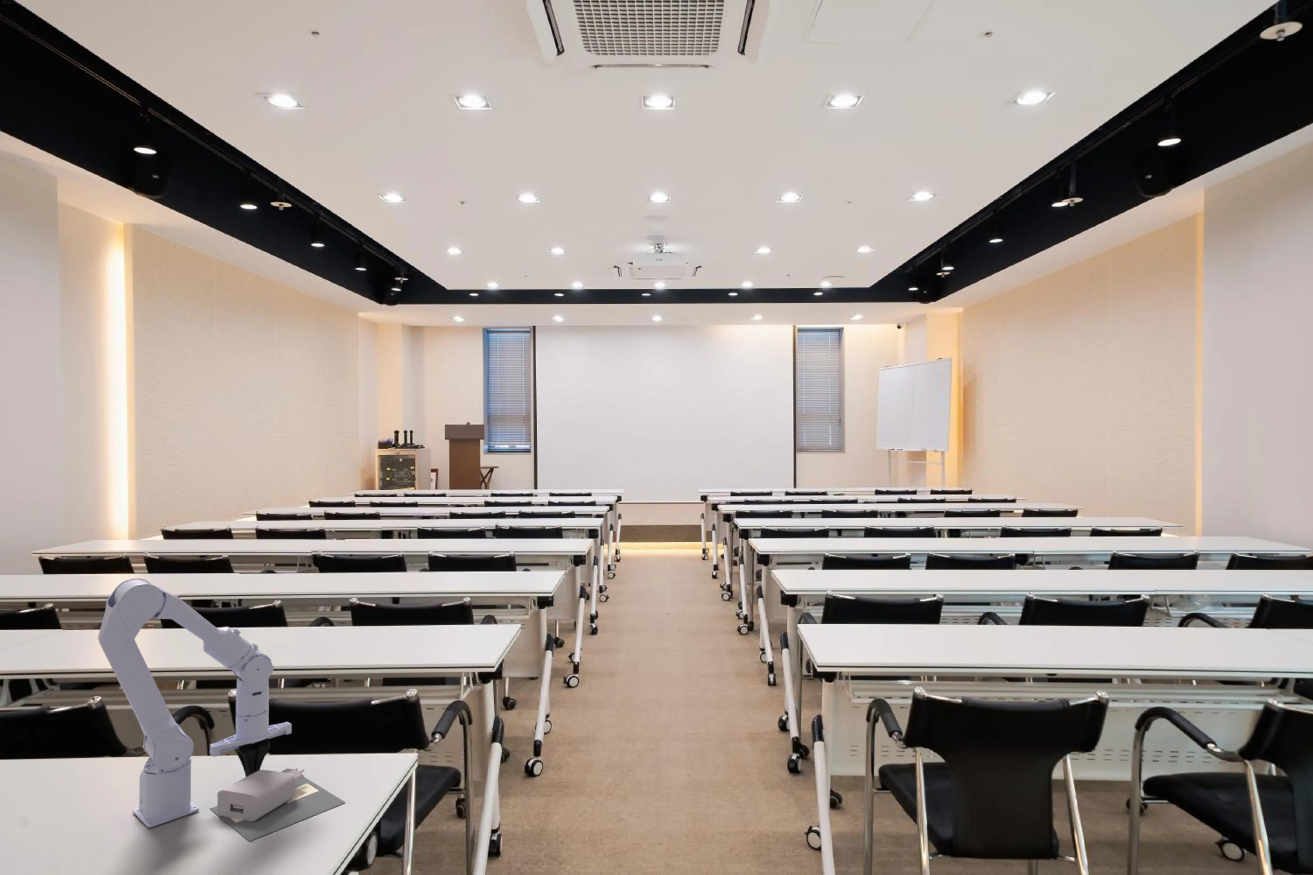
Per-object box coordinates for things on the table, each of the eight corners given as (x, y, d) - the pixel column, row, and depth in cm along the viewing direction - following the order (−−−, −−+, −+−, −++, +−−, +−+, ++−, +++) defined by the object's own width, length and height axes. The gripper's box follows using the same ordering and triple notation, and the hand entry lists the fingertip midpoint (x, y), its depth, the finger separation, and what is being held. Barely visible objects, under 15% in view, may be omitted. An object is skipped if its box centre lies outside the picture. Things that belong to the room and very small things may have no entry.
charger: (318, 784, 140) (256, 822, 125) (282, 778, 142) (217, 815, 128) (319, 760, 140) (257, 795, 125) (282, 755, 142) (217, 789, 128)
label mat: (209, 808, 130) (209, 807, 130) (302, 775, 144) (302, 775, 144) (249, 841, 119) (249, 840, 119) (345, 802, 133) (345, 801, 133)
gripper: (281, 697, 148) (280, 761, 147) (204, 717, 136) (203, 787, 136) (296, 704, 143) (295, 771, 143) (218, 726, 132) (217, 798, 132)
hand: (251, 779), depth 139 cm, fingers closed
